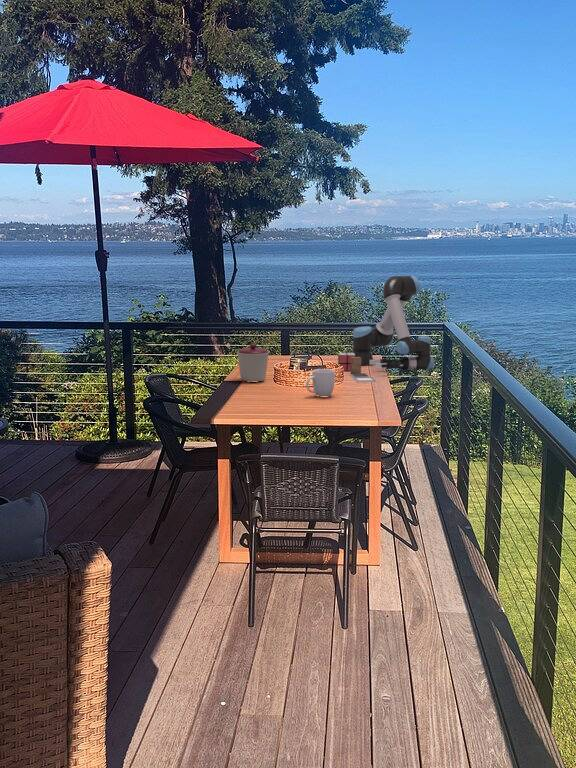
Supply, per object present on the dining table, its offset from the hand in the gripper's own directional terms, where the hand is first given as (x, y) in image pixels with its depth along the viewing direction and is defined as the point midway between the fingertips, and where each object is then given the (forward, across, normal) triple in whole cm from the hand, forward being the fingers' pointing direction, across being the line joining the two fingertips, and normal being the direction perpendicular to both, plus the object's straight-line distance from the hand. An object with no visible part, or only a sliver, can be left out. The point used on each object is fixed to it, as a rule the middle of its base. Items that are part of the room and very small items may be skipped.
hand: (372, 364), depth 466 cm
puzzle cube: (+12, +15, -6) cm, 20 cm away
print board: (+10, -20, -6) cm, 23 cm away
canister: (+72, -15, -6) cm, 74 cm away
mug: (+43, -62, -6) cm, 76 cm away
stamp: (+10, 0, -6) cm, 12 cm away
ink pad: (+10, -9, -6) cm, 15 cm away
